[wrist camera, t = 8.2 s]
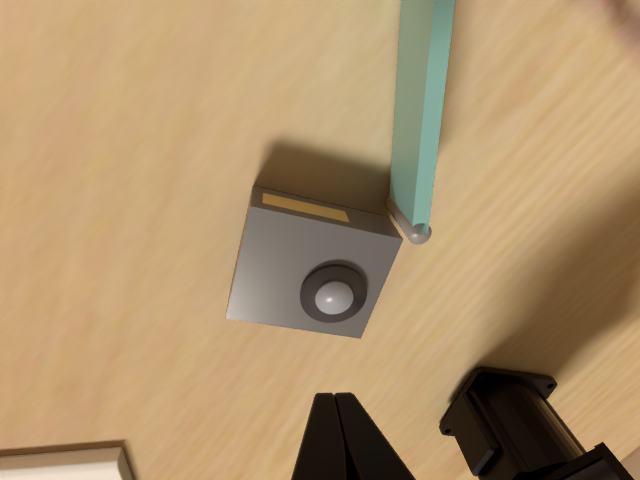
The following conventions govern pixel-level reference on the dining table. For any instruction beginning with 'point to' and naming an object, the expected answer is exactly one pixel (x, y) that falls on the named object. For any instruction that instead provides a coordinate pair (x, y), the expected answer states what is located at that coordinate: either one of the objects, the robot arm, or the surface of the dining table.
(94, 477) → the external hard drive
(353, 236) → the camera body
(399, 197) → the side door
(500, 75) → the dining table surface
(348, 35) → the dining table surface
